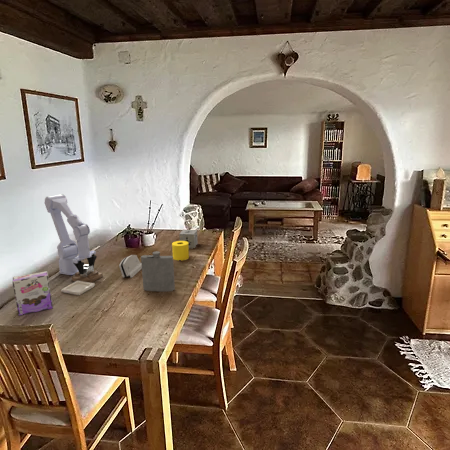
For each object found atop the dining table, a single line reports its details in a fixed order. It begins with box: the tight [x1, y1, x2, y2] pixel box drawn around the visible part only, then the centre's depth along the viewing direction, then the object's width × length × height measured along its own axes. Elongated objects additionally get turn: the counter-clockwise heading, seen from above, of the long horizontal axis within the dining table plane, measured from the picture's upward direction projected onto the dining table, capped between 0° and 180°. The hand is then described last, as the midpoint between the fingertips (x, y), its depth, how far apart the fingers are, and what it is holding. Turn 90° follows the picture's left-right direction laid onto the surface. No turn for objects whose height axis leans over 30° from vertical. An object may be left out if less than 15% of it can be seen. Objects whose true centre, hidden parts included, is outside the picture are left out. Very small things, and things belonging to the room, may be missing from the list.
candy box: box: [12, 271, 53, 316], centre depth 157 cm, size 14×6×16 cm, turn 117°
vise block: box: [71, 270, 104, 283], centre depth 190 cm, size 13×10×6 cm
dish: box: [61, 281, 96, 296], centre depth 178 cm, size 11×11×2 cm
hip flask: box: [140, 250, 176, 292], centre depth 174 cm, size 16×4×20 cm, turn 85°
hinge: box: [118, 254, 142, 278], centre depth 198 cm, size 17×5×10 cm, turn 168°
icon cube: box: [179, 229, 199, 249], centre depth 240 cm, size 10×10×10 cm
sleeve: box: [80, 263, 95, 277], centre depth 190 cm, size 5×5×5 cm
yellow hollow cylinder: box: [171, 240, 190, 262], centre depth 219 cm, size 10×10×9 cm
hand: (86, 271), depth 190 cm, fingers open, 7 cm apart
